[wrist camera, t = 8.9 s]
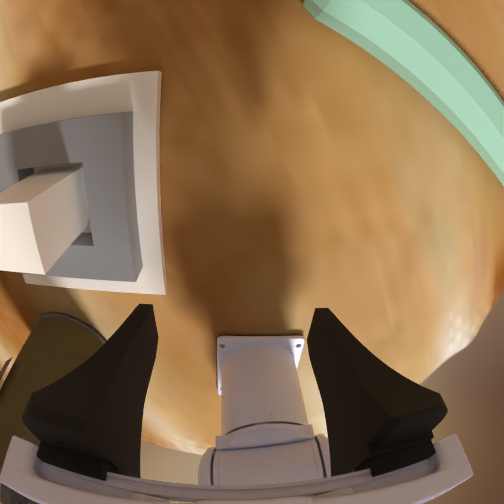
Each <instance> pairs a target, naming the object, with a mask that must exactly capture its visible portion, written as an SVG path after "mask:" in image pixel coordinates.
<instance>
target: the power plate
mask: <svg viewBox="0 0 504 504" xmlns="http://www.w3.org/2000/svg"><path fill="white" fill-rule="evenodd" d="M161 79H162V72H160V71H147V72H136V73H127V74H119V75H111V76H104V77H98V78H92V79H86V80H81V81H76V82H71V83H66V84H62V85H57V86H53V87H49V88H45V89H41V90H38V91H34V92H30V93H27V94H24V95H20V96H17V97H14V98H11V99H8V100H5V101H2V102H0V193H1V192H2V191H4V190H6V189H7V188H9V187H11V186H13V185H14V184H16V183H18V182H19V181H21V180H23V179H25V178H27V177H28V176H30V175H32V174H34V173H36V172H38V171H40V170H42V169H49V168H58V167H69V166H81V165H83V171H84V181H85V190H86V199H87V206H88V213H89V220H90V224H89V225H88V226H87V227H86V228H85V229H84V230H83V231H82V232H81V234H80V235H79V236H78V237H77V238H76V239H75V240H74V241H73V242H72V244H71V245H70V246H69V247H68V248H67V249H66V250H65V251H64V253H63V254H62V255H61V256H60V257H59V259H58V260H57V261H56V262H55V263H54V264H53V266H52V267H51V268H50V269H49V271H48V272H47V273H46V274H45V275H44V274H32V273H22V272H18V273H21V274H23V277H24V280H25V283H27V284H36V285H45V286H55V287H65V288H76V289H87V290H100V291H113V292H127V293H143V294H160V295H165V294H166V291H167V278H166V267H165V256H164V243H163V229H162V211H161V188H160V102H161Z"/></svg>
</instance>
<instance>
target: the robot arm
mask: <svg viewBox="0 0 504 504" xmlns="http://www.w3.org/2000/svg"><path fill="white" fill-rule="evenodd" d="M304 342H305V339H304V337H303V336H220V337H218V338H217V376H218V394H219V395H221V434H222V436H216V447H211V448H208V449H207V450H206V452H205V453H204V454H203V456H202V457H201V460H200V463H199V471H198V482H199V485H194V484H181V483H171V482H162V481H155V480H148V479H141V478H140V446H141V430H142V418H143V409H144V402H145V397H146V393H147V389H148V385H149V381H150V377H151V373H152V369H153V366H154V362H155V358H156V351H157V344H158V333H157V327H156V322H155V316H154V310H153V305H151V304H139V305H138V306H137V307H136V308H135V309H134V311H133V312H132V313H131V314H130V315H129V317H128V318H127V319H126V320H125V321H124V323H123V324H122V325H121V326H120V327H119V328H118V329H117V331H116V332H115V333H114V334H113V335H112V336H111V337H110V338H109V339H108V340H107V341H106V342H105V343H104V344H103V345H102V346H101V347H100V348H99V349H98V350H97V351H96V352H95V353H94V354H93V355H92V356H91V357H90V358H88V359H87V360H86V361H85V362H84V363H82V364H81V365H80V366H78V367H77V368H75V369H74V370H73V371H71V372H70V373H68V374H67V375H65V376H64V377H62V378H61V379H59V380H57V381H55V382H54V383H52V384H50V385H48V386H46V387H44V388H42V389H40V390H38V391H35V392H33V393H32V394H31V396H30V398H29V400H28V402H27V405H26V407H25V410H24V413H23V415H22V421H23V423H24V425H25V426H26V427H27V428H28V429H29V430H30V431H31V432H32V433H33V434H34V435H35V436H36V437H37V438H38V439H39V440H40V441H41V442H40V445H39V447H38V446H36V445H35V444H33V443H31V442H28V441H26V440H24V439H21V438H19V437H17V436H12V439H11V442H10V445H9V448H8V451H7V454H6V458H5V461H4V464H3V468H2V471H1V475H0V482H1V483H3V484H5V485H6V486H8V487H9V488H11V489H13V490H14V491H16V492H18V493H19V494H21V495H23V496H25V497H27V498H28V499H30V500H32V501H35V502H37V503H39V504H422V503H424V502H427V501H429V500H431V499H433V498H435V497H437V496H439V495H441V494H443V493H445V492H447V491H448V490H450V489H452V488H454V487H455V486H457V485H459V484H460V483H462V482H464V481H465V480H467V479H468V478H470V477H471V476H473V471H472V469H471V467H470V464H469V462H468V459H467V457H466V454H465V452H464V450H463V447H462V445H461V443H460V441H459V438H458V436H457V434H454V435H452V436H449V437H447V438H445V439H442V440H440V441H438V442H436V443H434V444H432V441H431V439H432V438H433V437H434V436H433V433H432V430H433V429H434V428H435V427H436V426H437V425H438V424H439V423H440V422H441V421H442V420H443V418H444V417H445V415H446V414H447V407H446V405H445V403H444V401H443V399H442V397H441V395H440V394H439V393H437V392H434V391H432V390H430V389H427V388H425V387H422V386H420V385H419V384H417V383H415V382H413V381H411V380H409V379H407V378H406V377H404V376H402V375H401V374H399V373H398V372H396V371H395V370H393V369H392V368H390V367H389V366H387V365H386V364H385V363H383V362H382V361H381V360H380V359H378V358H377V357H376V356H375V355H373V354H372V353H371V352H370V351H369V350H368V349H367V348H366V347H365V346H363V345H362V344H361V343H360V342H359V341H358V340H357V339H356V338H355V337H354V336H353V335H352V334H351V333H350V331H349V330H348V329H347V328H346V327H345V326H344V325H343V324H342V323H341V322H340V321H339V319H338V318H337V317H336V316H335V315H334V314H333V313H332V312H331V311H330V309H329V308H315V312H314V315H313V319H312V323H311V327H310V330H309V334H308V338H307V344H308V351H309V356H310V361H311V365H312V368H313V371H314V375H315V378H316V381H317V385H318V388H319V391H320V395H321V398H322V402H323V406H324V412H325V418H326V425H327V432H328V438H327V437H325V436H324V435H323V434H317V435H315V436H314V432H313V427H312V425H311V424H310V425H308V420H307V415H306V411H305V406H304V401H303V397H302V392H301V387H300V383H299V378H298V373H297V367H298V363H299V360H300V356H301V353H302V349H303V346H304ZM221 344H224V345H221ZM297 344H298V345H297ZM169 500H172V501H181V502H193V503H170V501H169Z"/></svg>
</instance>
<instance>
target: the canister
mask: <svg viewBox="0 0 504 504" xmlns="http://www.w3.org/2000/svg"><path fill="white" fill-rule="evenodd" d="M105 342H106V341H105V340H104V339H103V338H102V337H101V336H100V335H99V334H98V333H97V332H96V331H95V330H94V329H92V328H91V327H89V326H88V325H86V324H84V323H83V322H81V321H79V320H77V319H76V318H72V317H69V316H66V315H63V314H59V313H48V314H44V315H41V316H40V317H39V318H38V319H37V320H36V322H35V324H34V328H33V330H32V332H31V333H30V335H29V337H28V339H27V340H26V342H25V344H24V345H23V347H22V349H21V351H20V353H19V354H18V356H17V358H16V360H15V362H14V364H13V366H12V368H11V369H10V371H9V373H8V375H7V377H6V379H5V381H4V383H3V386H2V388H1V390H0V475H1V471H2V468H3V464H4V461H5V458H6V454H7V451H8V448H9V445H10V442H11V439H12V436H17V437H19V438H21V439H24V440H26V441H28V442H31V443H33V444H35V445H36V446H38V447H39V445H40V442H41V441H40V440H39V439H38V438H37V437H36V436H35V435H34V434H33V433H32V432H31V431H30V430H29V429H28V428H27V427H26V426H25V425H24V423H23V421H22V415H23V413H24V410H25V407H26V405H27V402H28V400H29V398H30V396H31V394H32V393H33V392H35V391H38V390H40V389H42V388H44V387H46V386H48V385H50V384H52V383H54V382H55V381H57V380H59V379H61V378H62V377H64V376H65V375H67V374H68V373H70V372H71V371H73V370H74V369H75V368H77V367H78V366H80V365H81V364H82V363H84V362H85V361H86V360H87V359H88V358H90V357H91V356H92V355H93V354H94V353H95V352H96V351H97V350H98V349H99V348H100V347H101V346H102V345H103V344H104V343H105ZM11 359H12V358H10V359H9V360H7V361H6V362H5V364H4V366H3V368H2V370H1V372H0V380H1V378H2V376H3V374H4V372H5V370H6V368H7V366H8V365H9V363H10V361H11ZM0 491H1V492H0V501H1V503H2V504H39V503H37V502H35V501H32V500H30V499H28V498H27V497H25V496H23V495H21V494H19V493H18V492H16V491H14V490H13V489H11V488H9V487H8V486H6V485H5V484H3V483H1V490H0Z"/></svg>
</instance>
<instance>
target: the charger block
mask: <svg viewBox="0 0 504 504" xmlns="http://www.w3.org/2000/svg"><path fill="white" fill-rule="evenodd" d="M89 224H90V220H89V213H88V206H87V199H86V190H85V181H84V171H83V165H81V166H69V167H58V168H49V169H42V170H40V171H38V172H36V173H34V174H32V175H30V176H28V177H27V178H25V179H23V180H21V181H19V182H18V183H16V184H14V185H13V186H11V187H9V188H7V189H6V190H4V191H2V192H1V193H0V270H2V271H12V272H22V273H32V274H44V275H45V274H46V273H47V272H48V271H49V269H50V268H51V267H52V266H53V264H54V263H55V262H56V261H57V260H58V259H59V257H60V256H61V255H62V254H63V253H64V251H65V250H66V249H67V248H68V247H69V246H70V245H71V244H72V242H73V241H74V240H75V239H76V238H77V237H78V236H79V235H80V234H81V232H82V231H83V230H84V229H85V228H86V227H87V226H88V225H89Z"/></svg>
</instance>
